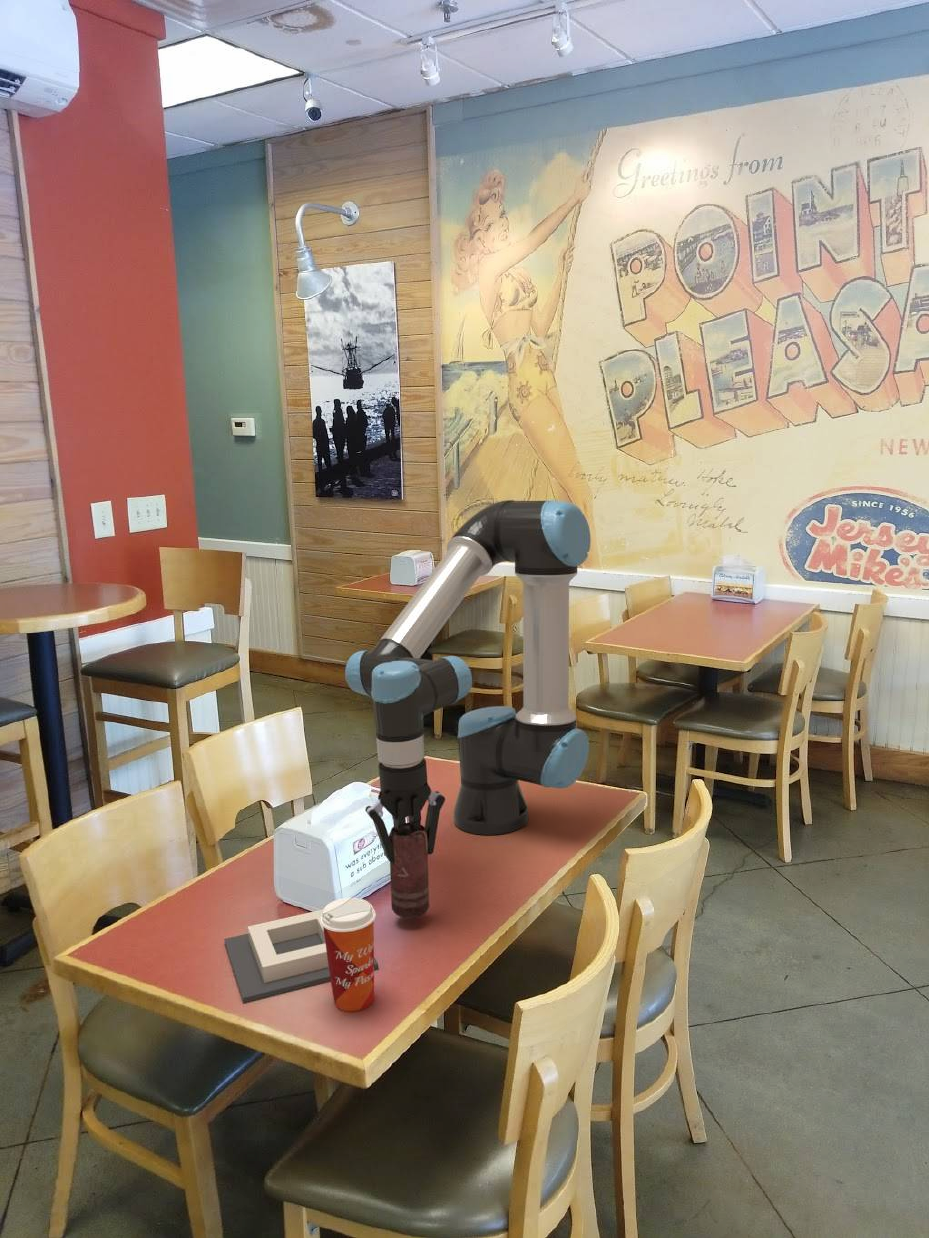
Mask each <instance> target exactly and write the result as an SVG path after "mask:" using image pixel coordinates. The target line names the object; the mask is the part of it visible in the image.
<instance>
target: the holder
mask: <svg viewBox="0 0 929 1238" xmlns="http://www.w3.org/2000/svg"><path fill="white" fill-rule="evenodd" d="M323 910H324V908H323V909H319V910H316V911H310V912H305V913H303V914H297V915H293V916H292V915H291V916H289V917H284V918H279V919H276V920H271V921H266V922H262V923H258V924H257V923H256V924H253V925H249V926H247V934H248V935H249V942H250V945H251V948H252V950H253V953H254V956H255V959H256V962H257V964H258V967H259V970H260V973H261V975H262V978H263V981H264V983H266V982H270V981H274V980H278V979H282V978H286V977H290V976H295V975H299V974H303V973H307V972H311V971H315V970H319V969H323V968H327V967H329V966H328V959H327V951H326V944H325V936H324V929H323V926H322V925H321V923H320V918H321V916H322V913H323ZM317 933H318V934H319V936H320V938H321V940H322V942H323V943H324V944H320V945H316V946H312V947H308V948H304V949H299V950H295V951H291V952H287V953H283V954H278V955H276V952H275V950H274V947H273V945H272V944H274V943H278V942H283V941H287V940H291V939H295V938H300V937H304V936H308V935H312V934H317Z"/></svg>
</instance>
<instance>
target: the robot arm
mask: <svg viewBox="0 0 929 1238" xmlns="http://www.w3.org/2000/svg"><path fill="white" fill-rule="evenodd" d="M591 539H592V538H591V530H590V525H589V522H588V520H587V518H586V515H585V514H584V513H583V511H582V510H581V508H579V506H578V505H576V504H574V503H572V502H568V501H562V500H560V501H559V500H554V499H550V500H513V499H508V500H500V501H497V502H494V503H492V504H490V505H487V506H486V507H484V508H482V509H480V510H479V511H478V512H477V513H475V514H474V515H473V516H471V517H470V518H469V519H468V520H467V521H466V522H464V523H463V524H462V525H461V526H460V528H458V529H457V531H456V532H455V533H454V534H453V535H452V537H451V538H450V540H449V541H448V542H447V544H446V551H447V552H446V553H445V555H444V556H443V557H442V559H441V560H440V562H438V563H437V565H436V566H435V568H434V569H433V570H432V571H431V573H430V574H429V575H428V577H427V578H426V579H425V581H424V582H423V583H422V584H421V586H420V587H419V588H418V589H417V591H416V592H415V594H414V595H413V596H412V598H410V600H409V601H408V603H407V604H406V605H405V607H404V608H403V609H402V611H401V612H400V613H399V614H398V616H397V617H396V618H395V620H394V621H393V622H392V624H390V626H389V628H388V629H387V630H386V631H385V632H384V634H383V635H382V636H381V638H380V639H379V640H378V642H377V643H376V644H375V645H374V647H373V648H372V649H371V650H369V649H367V650H360V651H357V652H355V653H353V654H352V655H351V656H350V657H349V659H348V660H347V663H346V665H345V672H344V676H345V681H346V683H347V685H348V687H349V688H350V689H351V690H352V691H353V692H355V693H358V694H361V695H364V696H366V697H369V698H372V707H373V717H374V725H375V726H374V727H375V735H376V737H375V739H376V750H377V751H376V752H377V760H378V762H379V763H378V776H379V786H380V790H379V793H378V797H377V801H376V802H374V804H372V805H367V806H366V807H365V809H364V810H365V813H366V814H367V815H368V816H369V818H371V820H372V822H373V825H374V827H375V832H376V833H377V836H378V839H379V842H380V845H381V848H382V850H383V853H384V856H385V858H386V860H388V861H389V864H390V863H394V861H395V858H394V849H393V846H392V844H391V841H390V838H389V833H388V830H387V827H386V824H385V822H384V819H383V818H382V817H383V816H384V811H383V809H385V810H386V811H387V812H388V813H389V814H390V815H391V818H392V821H393V822H392V823H393V827H394V831H395V832H396V833H397V835H399V836H402V835H406V830H405V824H406V823H407V819H406V818H408V823H409V828H410V829H411V830H412V831H413V832H415V831H418V830H421V825H422V823H421V821H422V810H423V808H424V807H425V805H426V803H428V804H427V810H426V815H425V821H424V828H425V830H426V832H427V842H428V856H430V855H433V853H434V850H435V845H436V844H435V843H436V838H437V832H438V825H439V819H440V812H441V810H442V808H443V806H444V803H445V802H446V797H445V796H444V795H443V794H442V793H440V791H438V790H436V791H433V790H432V789H431V787H430V785H429V784H428V771H427V760H426V759H425V757H426V755H427V753H426V745H425V744H426V743H425V733H424V731H425V730H424V716H426V715H428V714H430V713H432V712H434V711H437V710H439V709H442V708H444V707H448V706H450V705H453V704H455V703H457V702H458V701H459V700H461V699H463V698H465V697H466V696H467V695H468V694H469V693H470V691H471V689H472V686H473V676H472V675H473V674H472V672H471V669H470V667H469V665H468V663H466V662H465V660H463V659H462V658H460V657H458V656H455V655H448V656H441V657H439V658H438V659H435V660H434V659H433V660H431V659H423V658H421V657H422V655H424V653H425V651H426V650H427V648H428V647H429V646H430V644H431V643H432V642H433V640H434V639H435V637H437V635H438V634H439V632H440V631H441V630H442V628H443V627H444V625H445V624H446V623H447V622H448V620H449V619H450V617H451V616H452V615H453V613H454V612H455V611H456V609H457V608H458V606H459V605H460V604H461V602H462V601H463V599H464V598H465V597H466V595H467V594H468V593H469V591H470V590H471V589H472V587H473V586H474V585H475V583H476V582H477V580H478V579H479V578H480V577H482V576H486V575H488V574H489V573H490V572H491V570H492V569H493V568H494V567H495V566H497V565H498V564H501V563H505V562H509V563H514V575H515V576H516V577H517V578H518V579H519V580H520V581H521V583H522V603H523V604H522V623H523V624H522V625H523V626H522V628H523V629H522V630H523V631H522V637H523V638H522V639H523V640H522V641H523V642H522V643H523V644H522V649H523V653H522V654H523V655H522V656H523V657H522V658H523V660H522V661H523V662H522V663H523V664H522V666H523V669H522V670H523V686H522V688H523V690H522V691H523V692H522V693H523V704H522V705H523V706H522V708H521V709H520V710H519V711H518V712H516V709H515V708H514V707H511V706H505V705H503V706H502V705H499V706H496V705H495V706H487V707H481V708H477V709H474V710H473V709H472V710H470V711H468V712H466V713H464V714H462V716H461V717H459V719H458V720H459V721H458V732H457V733H458V734H457V740H458V741H457V742H458V743H457V744H458V754H459V756H458V757H459V771H460V772H459V774H460V788H459V791H458V794H457V798H456V802H455V805H454V809H453V822H454V825H455V827H457V828H458V829H459V830H461V831H464V832H467V833H469V834H474V835H484V836H485V835H486V836H487V835H489V836H490V835H491V836H492V835H494V836H495V835H501V834H502V835H503V834H509V833H512V832H514V831H517V830H520V829H521V828H523V827H524V826H526V825H527V823H528V821H529V809H528V808H529V807H528V804H527V802H526V799H525V797H524V794H523V792H522V789H521V787H520V786H521V785H520V784H519V781H521V782H525V783H529V784H534V785H538V786H542V787H543V788H555V789H567V788H568V787H571V786H573V784H575V783H576V781H577V780H578V779H579V777H580V776H582V775H581V774H582V773H583V771H584V769H585V767H586V764H587V761H588V757H589V751H590V742H589V741H590V740H589V738H588V735H587V733H586V732H585V731H583V730H582V729H581V728H577V715H576V713H575V712H573V710H572V709H570V707H569V706H570V705H569V704H570V703H569V702H570V701H569V700H570V699H569V698H570V697H569V695H570V694H569V691H570V688H569V686H570V685H569V682H570V676H569V675H570V666H569V665H570V659H569V658H570V656H569V655H570V654H569V653H570V650H569V649H570V582H571V581H572V580H573V579H574V578H575V577H576V576H577V575H578V566H580V565H582V564H584V563H585V561H586V560H587V558H588V556H589V554H588V552H590V550H591V542H592V541H591ZM413 832H411V833H413Z"/></svg>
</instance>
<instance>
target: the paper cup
mask: <svg viewBox="0 0 929 1238" xmlns="http://www.w3.org/2000/svg"><path fill="white" fill-rule="evenodd" d="M323 909H324V910H323ZM323 909H322V910H323V913H322V916H321V918H320V923H321V925H322V926H323V929H324V936H325V944H326V951H327V959H328V966H329V972H330V978H331V981H330V985H331V991H332V997H333V1001H334V1005H335V1007H336V1008H337V1009H338V1010H340V1011H344V1012H349V1013H351V1012H352V1013H353V1012H359V1011H363V1010H366V1009H367V1008H369V1007H370V1006H371V1005H372V1003H373V1002H374V997H375V970H374V958H375V946H374V945H375V944H374V943H375V942H374V941H375V940H374V938H375V937H374V936H375V934H374V930H375V929H374V927H375V926H374V921H375V920H376V917H377V916H376V915H377V914H376V910H375V909H374V907H373V905H372V903H370V902H369V901H367V900H366V899H363V898H359V897H344V898H339V899H336V900H333V901H330V902H329V903H328V904H327V905H326V906H325V907H324V908H323Z"/></svg>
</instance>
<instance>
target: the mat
mask: <svg viewBox="0 0 929 1238" xmlns="http://www.w3.org/2000/svg"><path fill="white" fill-rule="evenodd" d="M223 940H224V946H225V950H226V952H227V956H228V959H229V962H230V965H231V969H232V972H233V975H234V978H235V980H236V984H237V988H238V990H239V994H240V997H241V1000H242V1002H243V1003H242V1004H246V1003H249V1002H254V1001H258V1000H261V999H265V998H269V997H273V996H278V995H282V994H285V993H289V992H293V991H296V990H300V989H305V988H308V987H309V988H310V987H312V986H316V985H320V984H324V983H328V982H331V978H330V972H329V967H327V968H323V969H319V970H315V971H311V972H307V973H303V974H299V975H295V976H290V977H286V978H282V979H278V980H274V981H270V982H266V983H264V981H263V978H262V975H261V973H260V970H259V967H258V964H257V962H256V959H255V956H254V953H253V950H252V948H251V945H250V942H249V935H248V933H244V934H241V935H236V936H232V937H231V936H230V937H228V938H224V939H223ZM320 944H324V943H323V942H322V940H321V938H320V936H319V934H318V933H317V934H312V935H308V936H304V937H300V938H295V939H291V940H287V941H283V942H278V943H274V944H272V945H273V947H274V950H275V952H276V955H278V954H283V953H287V952H291V951H295V950H299V949H304V948H308V947H312V946H316V945H320ZM375 970H379V963H378V961H377V959H375V957H374V971H375Z"/></svg>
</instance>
